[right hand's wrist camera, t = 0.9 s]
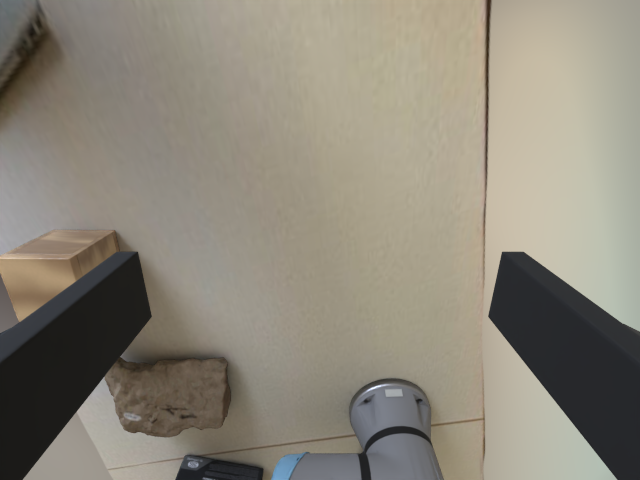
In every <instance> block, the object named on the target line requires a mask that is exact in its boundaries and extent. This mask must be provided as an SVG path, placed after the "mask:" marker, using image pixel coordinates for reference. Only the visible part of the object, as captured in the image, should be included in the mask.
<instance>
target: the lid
mask: <svg viewBox="0 0 640 480" xmlns="http://www.w3.org/2000/svg"><path fill="white" fill-rule="evenodd" d="M0 273H1V276H2V279H3V281H4V284H5V286H6V289H7V292H8V294H9V297H10V299H11V302H12V305H13V307H14V310H15V312H16V315H17V318H18V320H19V322H21V321H22V320H23V319H25V318H26V317H27V316H29V315H30V314H32V313H33V312H34V311H36V310H37V309H38V308H40V307H41V306H43V305H44V304H45V303H47V302H48V301H49V300H51V299H52V298H54V297H55V296H56V295H58V294H59V293H60V292H62V291H63V290H65V289H66V288H67V287H69V286H70V285H72V284H73V283H74V282H76V281H77V280H78V279H80V278H81V277H82V274H81V270H80V267H79V263H78V260H77V256H76V255H38V254H3V255H1V256H0Z"/></svg>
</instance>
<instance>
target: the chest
mask: <svg viewBox="0 0 640 480" xmlns="http://www.w3.org/2000/svg"><path fill="white" fill-rule="evenodd" d="M116 252H120V250H119V246H118V242H117V237H116V233H115V230H52V231H50V232H48V233H46V234H44V235H42V236H40V237H38V238H36V239H34V240H32V241H30V242H27V243H25V244H23V245H21V246H19V247H17V248H15V249H13V250H11V251H9V252H7V253H5V254H38V255H76V256H77V260H78V263H79V267H80V270H81V274H82V277H83V276H84V275H85V274H87V273H88V272H89V271H91V270H92V269H94V268H95V267H96V266H98V265H99V264H100V263H102V262H103V261H105V260H106V259H107V258H109V257H110V256H111V255H113V254H114V253H116Z"/></svg>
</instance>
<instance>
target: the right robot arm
mask: <svg viewBox="0 0 640 480" xmlns="http://www.w3.org/2000/svg"><path fill="white" fill-rule="evenodd" d="M151 317H152V316H151V311H150V306H149V302H148V297H147V292H146V288H145V283H144V278H143V274H142V269H141V264H140V260H139V255H138V252H116V253H114V254H113V255H111V256H110V257H109V258H107V259H106V260H105V261H103V262H102V263H100V264H99V265H98V266H96V267H95V268H94V269H92V270H91V271H89V272H88V273H87V274H85V275H84V276H83V277H81V278H80V279H78V280H77V281H76V282H74V283H73V284H72V285H70V286H69V287H67V288H66V289H65V290H63V291H62V292H60V293H59V294H58V295H56V296H55V297H54V298H52V299H51V300H49V301H48V302H47V303H45V304H44V305H43V306H41V307H40V308H38V309H37V310H36V311H34V312H33V313H32V314H30V315H29V316H27V317H26V318H25V319H23V320H22V321H21V322H19V323H18V324H16V325H15V326H14V327H12V328H10V329H8V330H6V331H4V332H2V333H0V480H23V478H24V477H25V476H26V475H27V473H28V472H29V471H30V470H31V468H32V467H33V466H34V465H35V463H36V462H37V461H38V460H39V458H40V457H41V456H42V454H43V453H44V452H45V451H46V449H47V448H48V447H49V446H50V444H51V443H52V442H53V441H54V439H55V438H56V437H57V435H58V434H59V433H60V432H61V430H62V429H63V428H64V427H65V425H66V424H67V423H68V422H69V420H70V419H71V418H72V417H73V415H74V414H75V413H76V412H77V410H78V409H79V408H80V407H81V405H82V404H83V403H84V401H85V400H86V399H87V398H88V396H89V395H90V394H91V393H92V391H93V390H94V389H95V388H96V386H97V385H98V384H99V383H100V381H101V380H102V379H103V377H104V376H105V375H106V374H107V372H108V371H109V370H110V369H111V367H112V366H113V365H114V364H115V362H116V361H117V360H118V359H119V357H120V356H121V355H122V354H123V352H124V351H125V350H126V348H127V347H128V346H129V345H130V343H131V342H132V341H133V340H134V338H135V337H136V336H137V335H138V333H139V332H140V331H141V330H142V328H143V327H144V326H145V324H146V323H147V322H148V321H149V319H150V318H151ZM488 317H489V318H490V319H491V321H492V322H493V323H494V324H495V326H496V327H497V328H498V330H499V331H500V332H501V333H502V335H503V336H504V337H505V338H506V340H507V341H508V342H509V343H510V345H511V346H512V347H513V348H514V350H515V351H516V352H517V353H518V355H519V356H520V357H521V359H522V360H523V361H524V362H525V364H526V365H527V366H528V367H529V369H530V370H531V371H532V372H533V374H534V375H535V376H536V377H537V379H538V380H539V381H540V383H541V384H542V385H543V386H544V388H545V389H546V390H547V391H548V393H549V394H550V395H551V396H552V398H553V399H554V400H555V401H556V403H557V404H558V405H559V406H560V408H561V409H562V410H563V411H564V413H565V414H566V415H567V417H568V418H569V419H570V420H571V422H572V423H573V424H574V425H575V427H576V428H577V429H578V430H579V432H580V433H581V434H582V435H583V437H584V438H585V439H586V441H587V442H588V443H589V444H590V446H591V447H592V448H593V449H594V451H595V452H596V453H597V454H598V456H599V457H600V458H601V460H602V461H603V462H604V463H605V465H606V466H607V467H608V468H609V470H610V471H611V472H612V473H613V475H614V476H615V477H616V478H617V480H640V332H639V331H637V330H635V329H633V328H631V327H629V326H627V325H625V324H622V323H621V322H619V321H618V320H617V319H615V318H614V317H613V316H611V315H610V314H608V313H607V312H606V311H604V310H603V309H602V308H600V307H599V306H597V305H596V304H595V303H593V302H592V301H591V300H589V299H588V298H586V297H585V296H584V295H582V294H581V293H579V292H578V291H577V290H575V289H574V288H573V287H571V286H570V285H568V284H567V283H566V282H564V281H563V280H562V279H560V278H559V277H557V276H556V275H555V274H553V273H552V272H550V271H549V270H548V269H546V268H545V267H544V266H542V265H541V264H540V263H538V262H537V261H535V260H534V259H533V258H531V257H530V256H528V255H527V254H526V253H524V252H502V255H501V260H500V264H499V269H498V274H497V279H496V283H495V288H494V292H493V297H492V302H491V306H490V311H489V316H488ZM349 413H350V422H351V425H352V428H353V430H354V432H355V434H356V436H357V438H358V440H359V442H360V444H361V446H362V448H363V452H362V454H310V453H309V452H305V453H302V454H288V455H285V456H284V457H283V458H281V459H280V460H279V461H278V463H277V465H276V467H275V469H274V472H273V475H272V479H271V480H444V479H443V476H442V473H441V470H440V467H439V464H438V461H437V458H436V455H435V452H434V449H433V446H432V443H431V408H430V405H429V402H428V399H427V397H426V395H425V393H424V392H423V391H422V390H421V389H420V388H419V387H418V386H416V385H415V384H413V383H411V382H408V381H405V380H400V379H383V380H378V381H375V382H372V383H370V384H368V385H366V386H364V387H363V388H362V389H360V390H359V391H358V392H357V393H356V394H355V396H354V397H353V399H352V401H351V403H350V408H349Z"/></svg>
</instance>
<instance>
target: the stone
mask: <svg viewBox="0 0 640 480" xmlns="http://www.w3.org/2000/svg"><path fill="white" fill-rule="evenodd" d="M227 365H228V364H227V361H226V360H225V358H212V359H206V360H200V359H194V358H191V359H185V360H182V361H177V360H160V361H157V363H156V364H155V365H150V364H147V363H140V364H138V363H133V362H126V361H125V360H123V359H122V358H120V357H119V359H118V360H117V361H116V362H115V364H114V365H113V366H112V367H111V369H110V370H109V371H108V372H107V374H106V375H105V380H106V382H107V385H108V386H109V391H110V392H111V395H112V396H113V397H114V402H115V407H116V413H117V415H118V416H119V419H120V423H121V425H122V426H123V429H124V430H126V431H128V432H131V433H136V432H142V433H145V434H147V435H151V436H158V437H173V436H176V435H178V434H179V433H180V432H181V431H182V430H184V429H188V428H190V427H196V428H199V429H200V430H202V429H205V428H214V429H218V428H220V427H221V426H222V425H223V422H224V419H225V417H227V414H228V408H229V404H230V401H231V392H230V388H229V386H228V382H227V370H226V367H227Z"/></svg>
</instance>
